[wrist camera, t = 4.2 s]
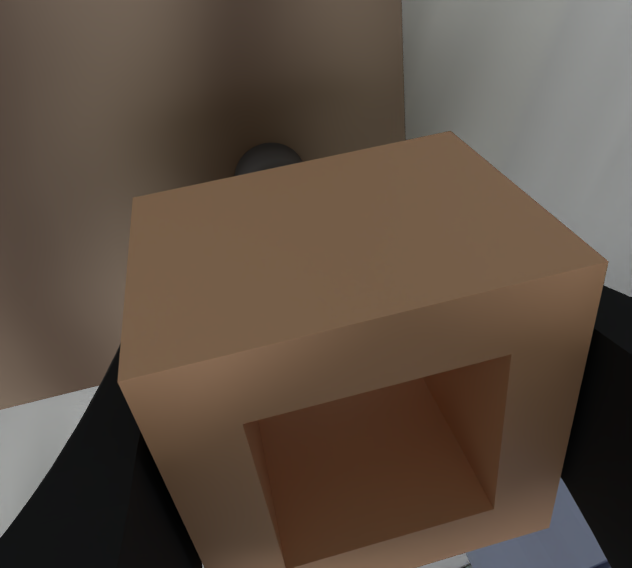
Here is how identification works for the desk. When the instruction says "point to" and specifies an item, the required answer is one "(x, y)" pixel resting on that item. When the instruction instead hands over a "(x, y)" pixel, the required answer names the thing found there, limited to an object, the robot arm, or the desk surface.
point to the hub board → (157, 141)
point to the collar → (357, 356)
